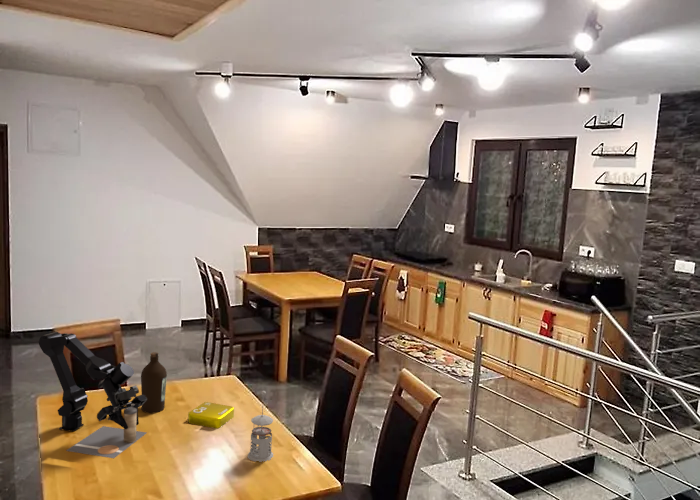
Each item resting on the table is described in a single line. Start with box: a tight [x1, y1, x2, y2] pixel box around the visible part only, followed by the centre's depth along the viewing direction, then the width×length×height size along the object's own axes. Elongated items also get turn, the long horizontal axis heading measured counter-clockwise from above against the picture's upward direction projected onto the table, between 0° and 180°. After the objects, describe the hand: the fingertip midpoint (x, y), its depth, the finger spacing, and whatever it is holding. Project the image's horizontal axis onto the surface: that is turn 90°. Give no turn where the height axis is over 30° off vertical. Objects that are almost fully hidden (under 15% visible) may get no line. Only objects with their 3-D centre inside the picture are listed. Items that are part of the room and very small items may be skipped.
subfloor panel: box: [65, 425, 147, 459], centre depth 213 cm, size 19×22×2 cm
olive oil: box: [140, 351, 168, 414], centre depth 248 cm, size 11×11×25 cm
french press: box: [247, 390, 274, 463], centre depth 212 cm, size 10×12×25 cm
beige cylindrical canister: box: [123, 407, 137, 443], centre depth 214 cm, size 5×5×12 cm
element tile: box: [187, 401, 235, 429], centre depth 242 cm, size 15×15×5 cm
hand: (132, 426), depth 214 cm, fingers closed on beige cylindrical canister, 4 cm apart
